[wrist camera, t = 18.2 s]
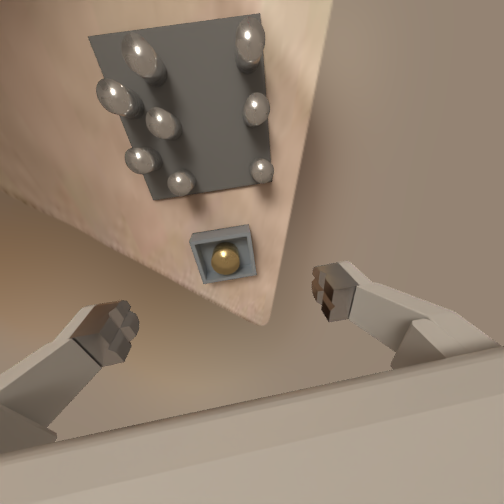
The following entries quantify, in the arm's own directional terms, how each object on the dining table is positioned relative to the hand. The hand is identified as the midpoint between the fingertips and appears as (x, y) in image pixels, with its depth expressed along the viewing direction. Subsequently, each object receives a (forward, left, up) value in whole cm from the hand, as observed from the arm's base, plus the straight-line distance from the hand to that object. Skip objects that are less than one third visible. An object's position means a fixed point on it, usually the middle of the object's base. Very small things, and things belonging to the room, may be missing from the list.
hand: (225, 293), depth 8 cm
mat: (-2, +8, -22) cm, 23 cm away
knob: (-2, -10, -21) cm, 23 cm away
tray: (-2, -10, -22) cm, 24 cm away
